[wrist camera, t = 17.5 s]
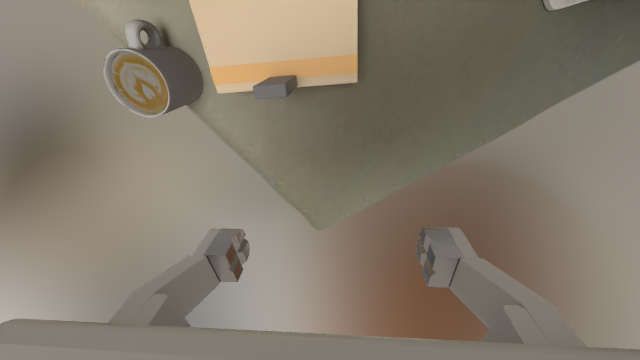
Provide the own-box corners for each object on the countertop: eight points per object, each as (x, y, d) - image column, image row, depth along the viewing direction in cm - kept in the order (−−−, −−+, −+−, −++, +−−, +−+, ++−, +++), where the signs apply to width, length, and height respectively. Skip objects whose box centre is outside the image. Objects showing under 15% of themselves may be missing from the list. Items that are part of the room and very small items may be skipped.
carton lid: (357, -95, 25) (363, -154, 17) (357, 81, 34) (361, 93, 27) (173, -64, 27) (108, -104, 20) (220, 92, 37) (189, 106, 29)
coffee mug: (203, 108, 46) (172, 124, 38) (154, 94, 45) (111, 107, 37) (202, 33, 39) (163, 32, 30) (143, 15, 38) (87, 9, 30)
